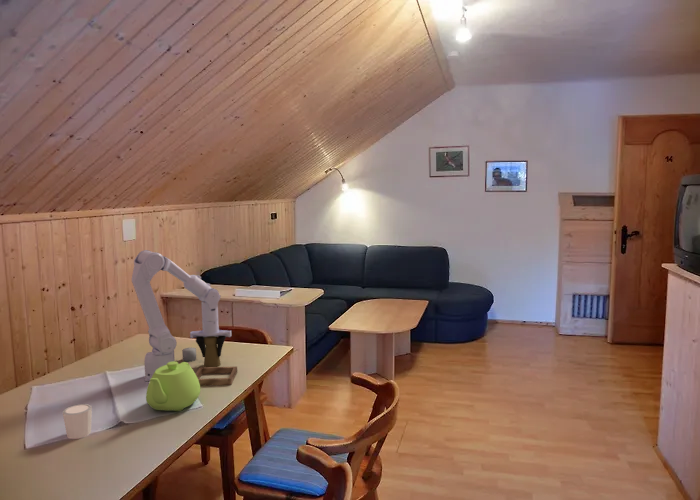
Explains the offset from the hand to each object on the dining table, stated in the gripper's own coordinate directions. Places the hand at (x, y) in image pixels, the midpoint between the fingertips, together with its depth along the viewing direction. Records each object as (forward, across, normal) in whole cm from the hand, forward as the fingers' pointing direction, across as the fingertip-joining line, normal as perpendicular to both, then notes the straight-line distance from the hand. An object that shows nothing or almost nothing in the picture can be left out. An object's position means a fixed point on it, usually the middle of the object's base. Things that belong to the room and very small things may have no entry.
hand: (211, 356), depth 190 cm
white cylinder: (+4, +24, +52) cm, 57 cm away
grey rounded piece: (+3, +10, -7) cm, 13 cm away
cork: (+4, 0, 0) cm, 4 cm away
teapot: (+4, +4, +36) cm, 36 cm away
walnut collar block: (+3, -4, +14) cm, 15 cm away
